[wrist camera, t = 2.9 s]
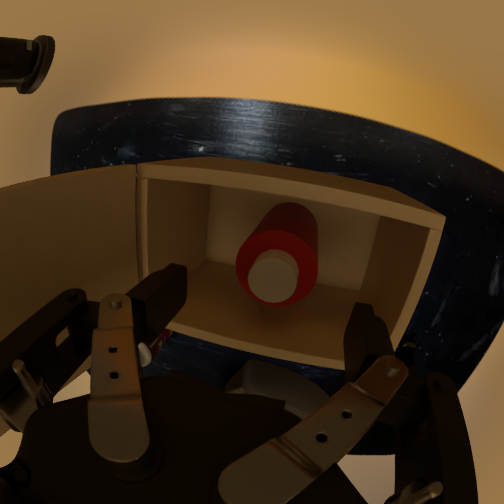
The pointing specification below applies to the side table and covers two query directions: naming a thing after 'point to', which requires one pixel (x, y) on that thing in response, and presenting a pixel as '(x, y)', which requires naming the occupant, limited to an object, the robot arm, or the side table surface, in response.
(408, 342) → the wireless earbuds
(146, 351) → the pill bottle
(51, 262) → the breadbox lid
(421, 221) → the box
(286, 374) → the alarm clock
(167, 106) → the side table surface
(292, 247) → the sauce bottle
